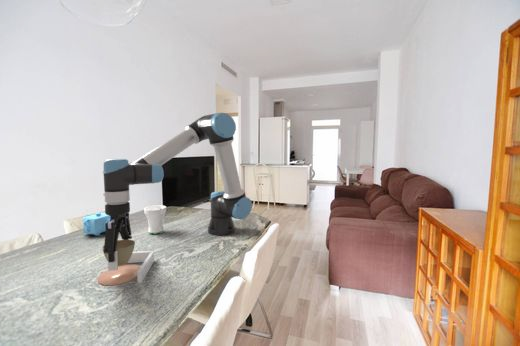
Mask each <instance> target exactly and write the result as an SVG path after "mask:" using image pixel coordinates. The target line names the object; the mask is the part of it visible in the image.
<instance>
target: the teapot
mask: <svg viewBox="0 0 520 346" xmlns="http://www.w3.org/2000/svg"><path fill="white" fill-rule="evenodd" d="M110 217H111V216H109V215H106V214H105V212H95V213H94V214H90V213H86V216H84V217H82V232H83V233H84V234H87V235H94V236H95V237H98V236H101V233H102V234H103V233H105V232H106V227H105V224H106V222H110Z"/></svg>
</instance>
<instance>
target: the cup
mask: <svg viewBox="0 0 520 346" xmlns="http://www.w3.org/2000/svg"><path fill="white" fill-rule="evenodd" d="M166 212H167V206H166V205H160V204H159V205H158V204H157V205H150V206H145V207H144V209H143V213H144V215H145V217H146V219H147V222H148V230H147V231H148V234H149V235H152V234H154V235H155V236H156V235H158V233H159V234H162V233H163V232H164V219H165V216H166V215H165V214H166Z"/></svg>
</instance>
